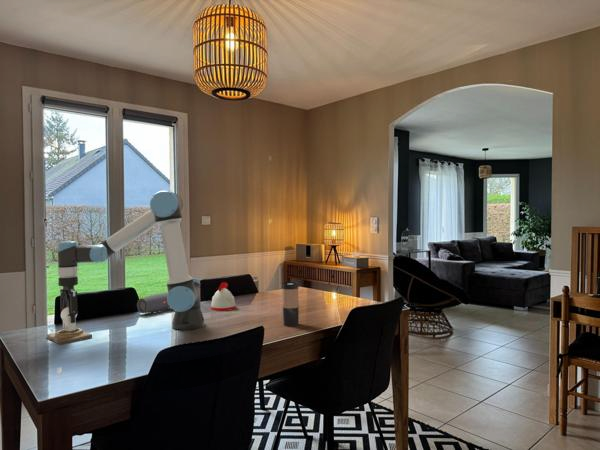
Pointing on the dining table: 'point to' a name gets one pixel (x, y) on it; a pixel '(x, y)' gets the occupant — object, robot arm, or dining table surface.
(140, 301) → the bluetooth speaker
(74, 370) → the dining table surface
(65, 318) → the lightbulb
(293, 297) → the travel mug
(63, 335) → the socket
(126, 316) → the dining table surface
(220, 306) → the white dome
